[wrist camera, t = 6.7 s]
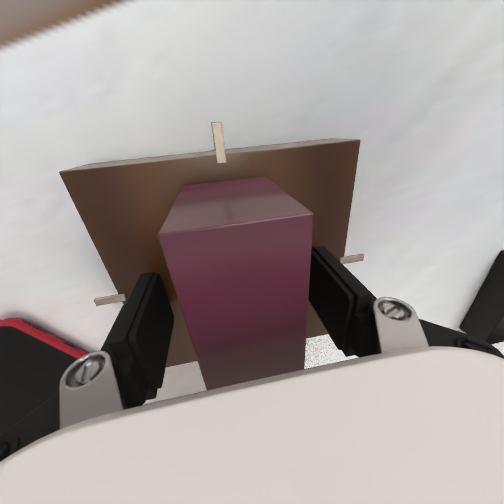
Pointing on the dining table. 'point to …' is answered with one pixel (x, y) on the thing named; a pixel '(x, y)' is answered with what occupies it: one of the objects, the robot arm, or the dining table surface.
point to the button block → (488, 307)
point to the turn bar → (241, 277)
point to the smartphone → (29, 368)
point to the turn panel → (197, 172)
